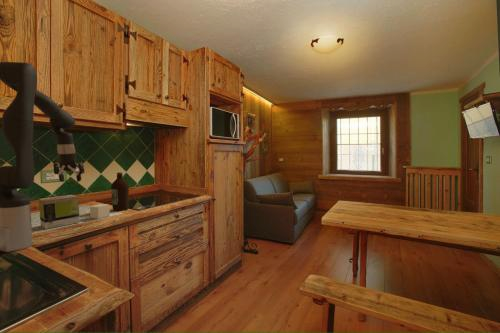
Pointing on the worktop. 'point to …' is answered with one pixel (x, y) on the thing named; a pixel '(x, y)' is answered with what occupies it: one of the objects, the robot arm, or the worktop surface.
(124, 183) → the olive oil
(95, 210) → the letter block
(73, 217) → the tea box
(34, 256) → the worktop surface
